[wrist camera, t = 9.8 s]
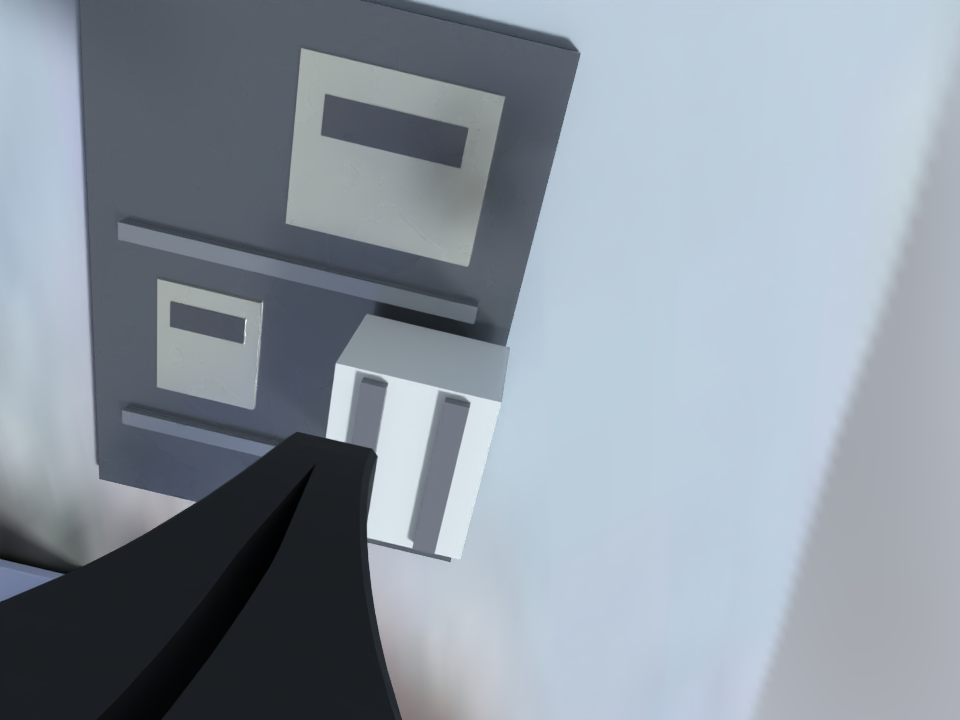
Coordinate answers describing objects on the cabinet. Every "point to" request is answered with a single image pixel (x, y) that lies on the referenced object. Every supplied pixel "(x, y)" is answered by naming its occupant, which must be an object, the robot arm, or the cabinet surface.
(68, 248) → the cabinet surface
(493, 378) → the white grey striped block
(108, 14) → the label board
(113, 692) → the robot arm
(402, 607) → the cabinet surface
